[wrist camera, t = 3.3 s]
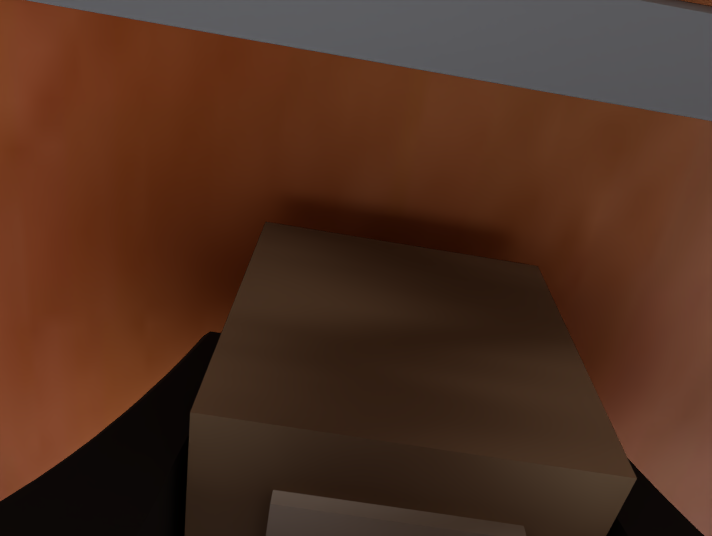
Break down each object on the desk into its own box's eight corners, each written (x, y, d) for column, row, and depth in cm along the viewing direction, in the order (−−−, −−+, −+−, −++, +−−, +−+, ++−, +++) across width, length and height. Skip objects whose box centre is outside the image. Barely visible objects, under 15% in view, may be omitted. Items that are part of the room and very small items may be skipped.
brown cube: (537, 266, 11) (643, 492, 7) (469, 461, 14) (513, 727, 9) (265, 221, 11) (184, 424, 7) (244, 429, 13) (174, 684, 9)
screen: (886, 39, 11) (1122, 90, 8) (850, 105, 12) (1053, 181, 8) (-25, -131, 10) (-233, -161, 7) (-16, -51, 11) (-204, -41, 7)
